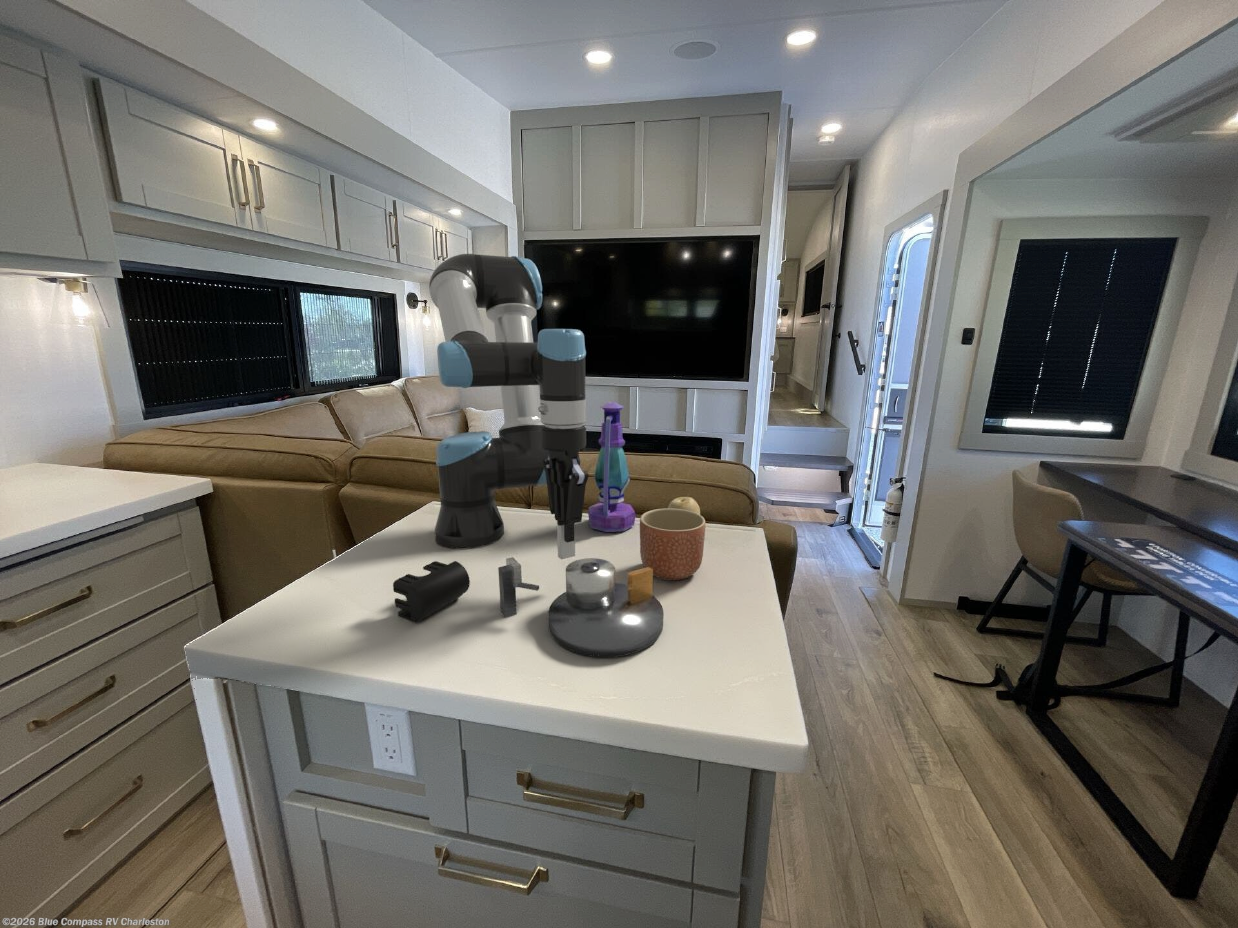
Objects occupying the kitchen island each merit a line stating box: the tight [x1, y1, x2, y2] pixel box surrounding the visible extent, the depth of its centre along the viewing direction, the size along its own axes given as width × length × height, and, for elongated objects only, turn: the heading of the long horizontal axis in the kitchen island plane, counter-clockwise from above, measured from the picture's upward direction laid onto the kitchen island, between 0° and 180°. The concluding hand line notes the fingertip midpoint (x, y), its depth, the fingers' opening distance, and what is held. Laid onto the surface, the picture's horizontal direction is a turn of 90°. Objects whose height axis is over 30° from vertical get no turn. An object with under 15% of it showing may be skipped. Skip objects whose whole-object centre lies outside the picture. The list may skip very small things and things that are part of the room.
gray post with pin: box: [497, 556, 540, 618], centre depth 79 cm, size 6×5×9 cm
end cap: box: [392, 560, 471, 623], centre depth 81 cm, size 10×7×7 cm
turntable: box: [547, 567, 664, 658], centre depth 76 cm, size 18×18×7 cm
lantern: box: [587, 401, 636, 533], centre depth 115 cm, size 13×12×30 cm
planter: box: [639, 507, 706, 581], centre depth 94 cm, size 12×12×11 cm
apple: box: [667, 496, 701, 515], centre depth 118 cm, size 8×8×8 cm
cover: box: [565, 557, 616, 609], centre depth 80 cm, size 8×8×5 cm
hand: (566, 556), depth 87 cm, fingers closed
